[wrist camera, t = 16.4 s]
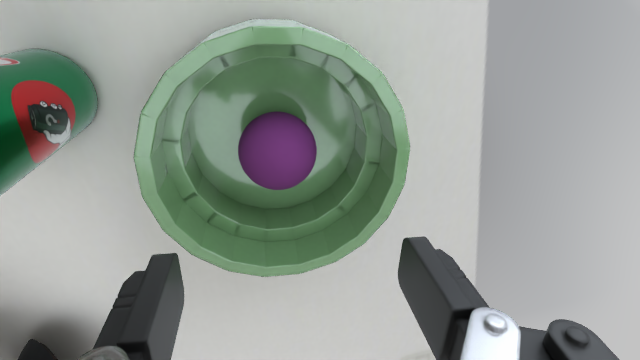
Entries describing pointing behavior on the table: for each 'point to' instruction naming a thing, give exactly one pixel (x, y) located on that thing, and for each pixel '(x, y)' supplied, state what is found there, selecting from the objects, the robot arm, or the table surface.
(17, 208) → the table surface
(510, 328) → the robot arm
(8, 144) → the soda can
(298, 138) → the plum ball
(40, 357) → the telephone
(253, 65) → the green bowl
